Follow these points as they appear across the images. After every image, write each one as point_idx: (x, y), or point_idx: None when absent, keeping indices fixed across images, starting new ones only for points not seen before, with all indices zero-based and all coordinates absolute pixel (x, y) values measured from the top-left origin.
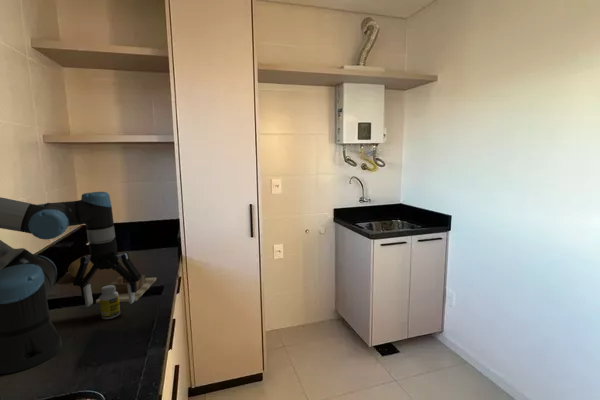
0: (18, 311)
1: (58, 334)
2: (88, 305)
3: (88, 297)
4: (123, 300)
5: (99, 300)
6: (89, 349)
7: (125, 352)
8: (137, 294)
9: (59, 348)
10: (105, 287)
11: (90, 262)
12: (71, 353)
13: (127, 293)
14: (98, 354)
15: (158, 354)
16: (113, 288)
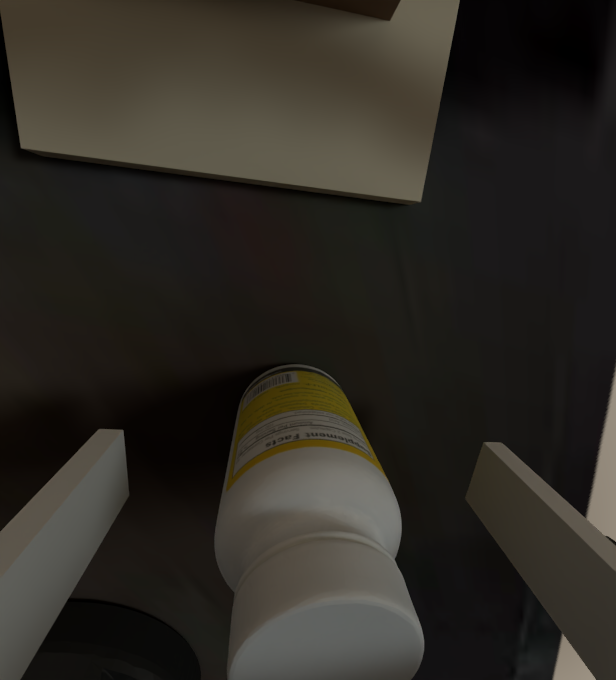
0: None
1: (141, 678)
2: (124, 500)
3: (78, 558)
4: (305, 188)
5: (60, 147)
6: None
7: (450, 666)
8: (415, 92)
9: (197, 670)
10: (285, 668)
11: None
12: None
13: (300, 13)
14: None
15: (548, 673)
16: (410, 663)
